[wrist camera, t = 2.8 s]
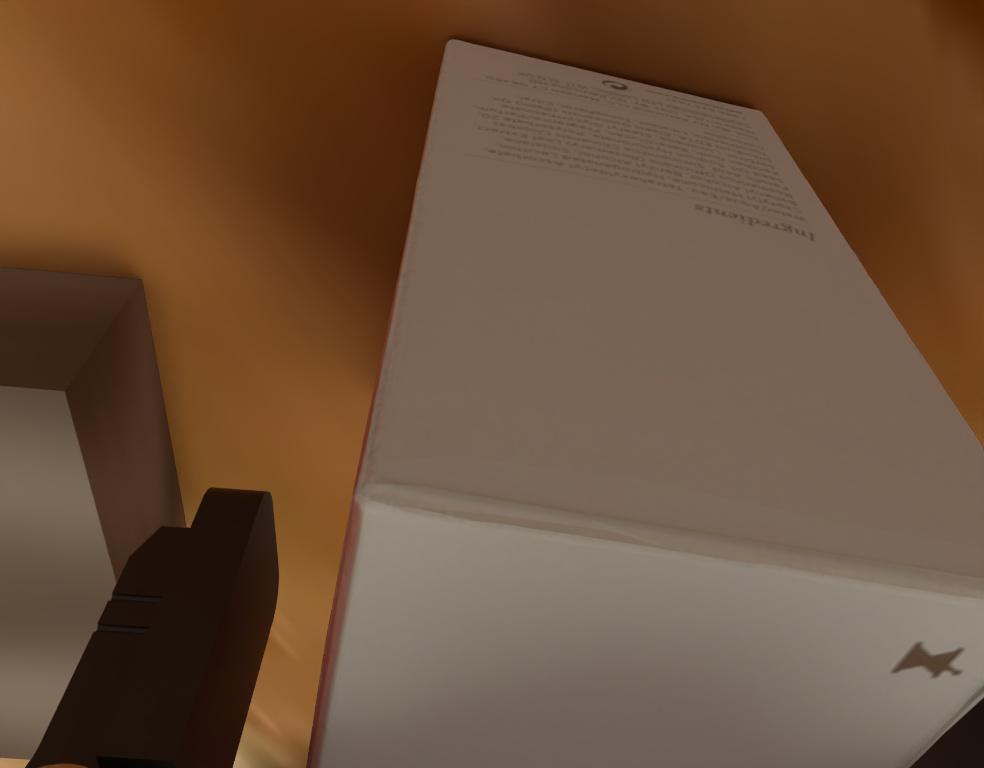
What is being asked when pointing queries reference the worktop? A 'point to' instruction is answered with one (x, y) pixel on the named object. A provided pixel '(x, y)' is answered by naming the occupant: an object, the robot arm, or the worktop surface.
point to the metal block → (71, 476)
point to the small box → (644, 459)
